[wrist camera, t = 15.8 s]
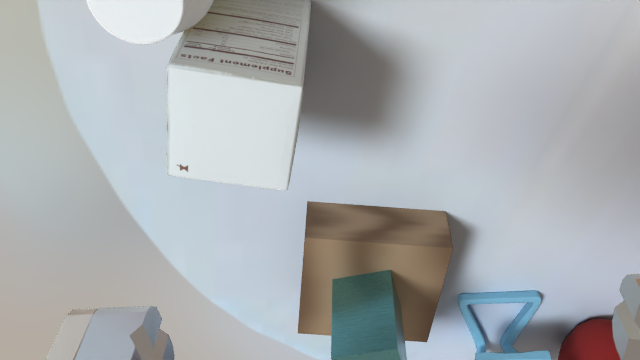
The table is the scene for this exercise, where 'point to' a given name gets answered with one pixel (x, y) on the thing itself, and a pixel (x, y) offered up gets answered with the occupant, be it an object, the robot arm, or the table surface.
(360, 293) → the spice tin
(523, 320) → the chair
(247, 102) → the supplement box
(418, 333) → the walnut block
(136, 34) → the supplement bottle
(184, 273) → the table surface
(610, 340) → the tomato
